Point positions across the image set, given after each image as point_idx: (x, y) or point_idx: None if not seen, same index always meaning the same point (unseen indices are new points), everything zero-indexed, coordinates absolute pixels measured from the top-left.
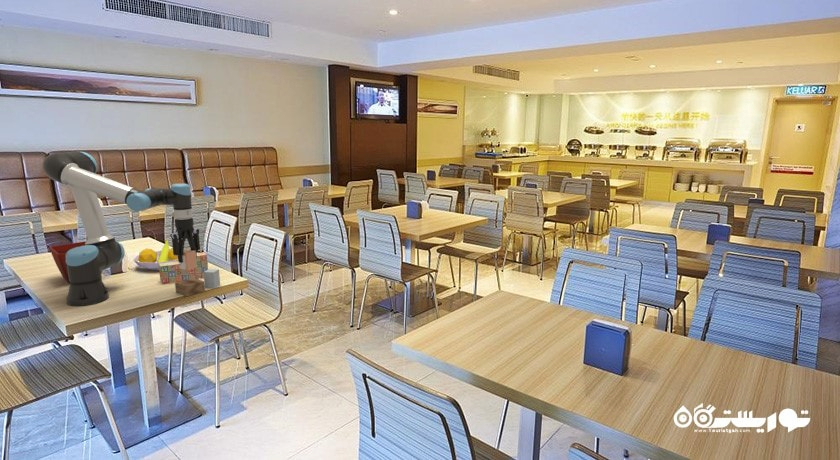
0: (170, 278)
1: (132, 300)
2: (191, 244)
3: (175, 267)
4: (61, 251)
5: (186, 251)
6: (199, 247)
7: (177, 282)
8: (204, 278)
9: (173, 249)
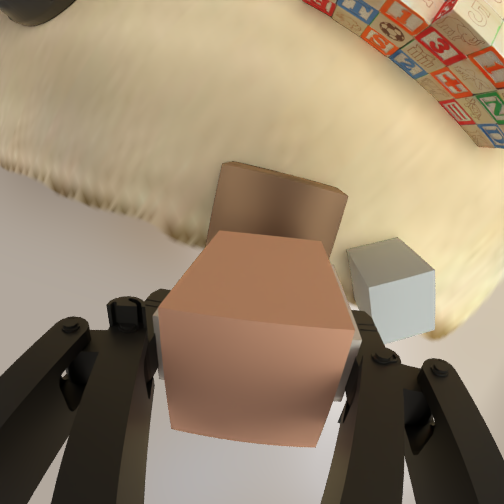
0: (342, 12)
1: (83, 86)
2: (331, 483)
3: (389, 6)
4: None
5: (234, 392)
6: (422, 432)
7: (231, 175)
8: (358, 271)
9: (22, 368)
